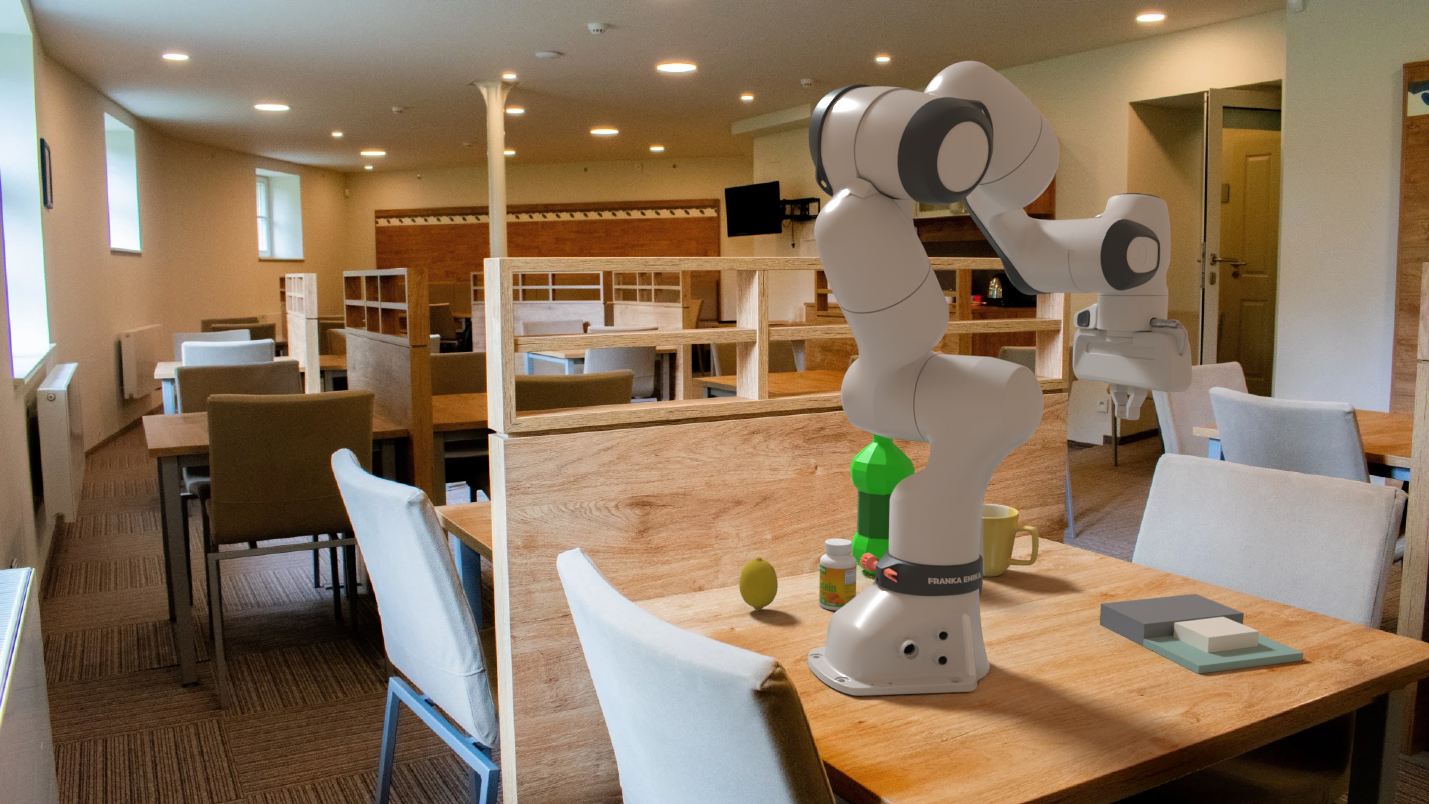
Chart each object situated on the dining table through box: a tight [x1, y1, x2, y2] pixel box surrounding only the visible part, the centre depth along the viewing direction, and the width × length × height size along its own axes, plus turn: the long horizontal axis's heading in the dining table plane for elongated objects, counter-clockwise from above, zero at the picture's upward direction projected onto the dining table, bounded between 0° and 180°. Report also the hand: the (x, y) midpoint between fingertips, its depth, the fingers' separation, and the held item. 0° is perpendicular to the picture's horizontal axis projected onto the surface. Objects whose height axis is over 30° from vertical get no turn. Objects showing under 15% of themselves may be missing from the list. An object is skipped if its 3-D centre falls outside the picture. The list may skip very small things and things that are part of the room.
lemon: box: [738, 556, 778, 612], centre depth 151 cm, size 6×6×8 cm
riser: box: [1099, 593, 1245, 647], centre depth 143 cm, size 16×9×3 cm, turn 106°
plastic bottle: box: [849, 433, 916, 576], centre depth 170 cm, size 10×10×25 cm
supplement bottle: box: [818, 537, 858, 612], centre depth 153 cm, size 5×5×10 cm
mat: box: [1142, 633, 1304, 675], centre depth 134 cm, size 16×10×1 cm, turn 106°
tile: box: [1174, 617, 1260, 653], centre depth 135 cm, size 8×6×2 cm
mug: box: [979, 503, 1040, 577], centre depth 169 cm, size 14×10×10 cm
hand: (1126, 418), depth 141 cm, fingers closed
